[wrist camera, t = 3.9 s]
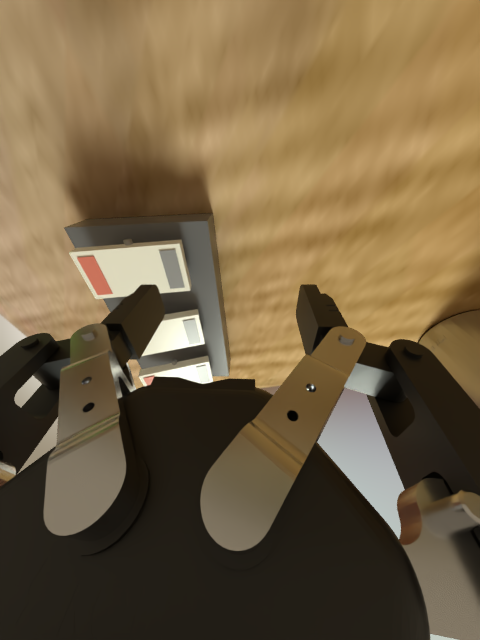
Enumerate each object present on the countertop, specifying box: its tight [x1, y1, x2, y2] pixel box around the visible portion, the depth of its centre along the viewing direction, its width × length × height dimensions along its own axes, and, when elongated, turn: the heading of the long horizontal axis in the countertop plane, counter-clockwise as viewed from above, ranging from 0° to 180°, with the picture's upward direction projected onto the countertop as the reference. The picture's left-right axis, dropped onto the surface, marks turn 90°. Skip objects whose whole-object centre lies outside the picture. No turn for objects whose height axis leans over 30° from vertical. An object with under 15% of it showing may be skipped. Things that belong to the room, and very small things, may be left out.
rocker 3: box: [139, 356, 213, 386], centre depth 25 cm, size 8×5×1 cm, turn 93°
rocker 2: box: [142, 309, 205, 356], centre depth 21 cm, size 8×5×1 cm, turn 93°
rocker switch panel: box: [64, 213, 230, 376], centre depth 24 cm, size 12×20×3 cm, turn 3°
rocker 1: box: [69, 239, 191, 299], centre depth 17 cm, size 8×5×1 cm, turn 93°
